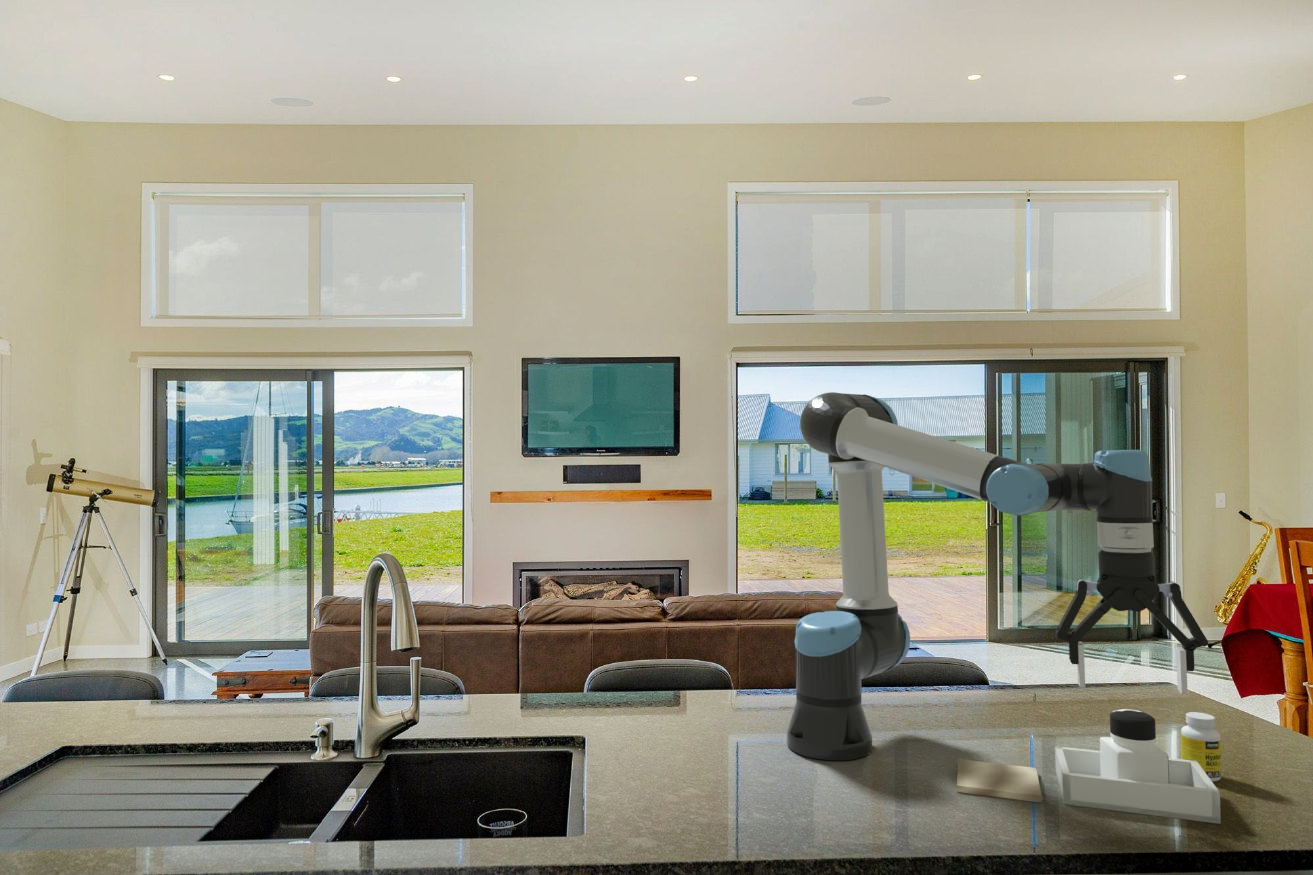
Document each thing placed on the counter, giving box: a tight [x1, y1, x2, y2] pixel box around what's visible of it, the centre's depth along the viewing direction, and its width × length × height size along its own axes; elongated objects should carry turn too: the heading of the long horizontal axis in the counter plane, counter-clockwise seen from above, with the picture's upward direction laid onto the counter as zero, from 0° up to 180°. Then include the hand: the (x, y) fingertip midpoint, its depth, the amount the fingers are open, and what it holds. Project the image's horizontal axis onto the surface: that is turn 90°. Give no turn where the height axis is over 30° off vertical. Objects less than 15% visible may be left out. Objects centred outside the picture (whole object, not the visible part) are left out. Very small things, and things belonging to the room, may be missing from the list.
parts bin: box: [1054, 745, 1222, 825], centre depth 126 cm, size 20×13×4 cm, turn 69°
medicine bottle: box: [1099, 708, 1169, 784], centre depth 126 cm, size 7×7×12 cm
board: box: [956, 758, 1043, 803], centre depth 132 cm, size 12×12×1 cm
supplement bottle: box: [1180, 711, 1222, 783], centre depth 134 cm, size 5×5×10 cm
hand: (1131, 689), depth 126 cm, fingers open, 13 cm apart
